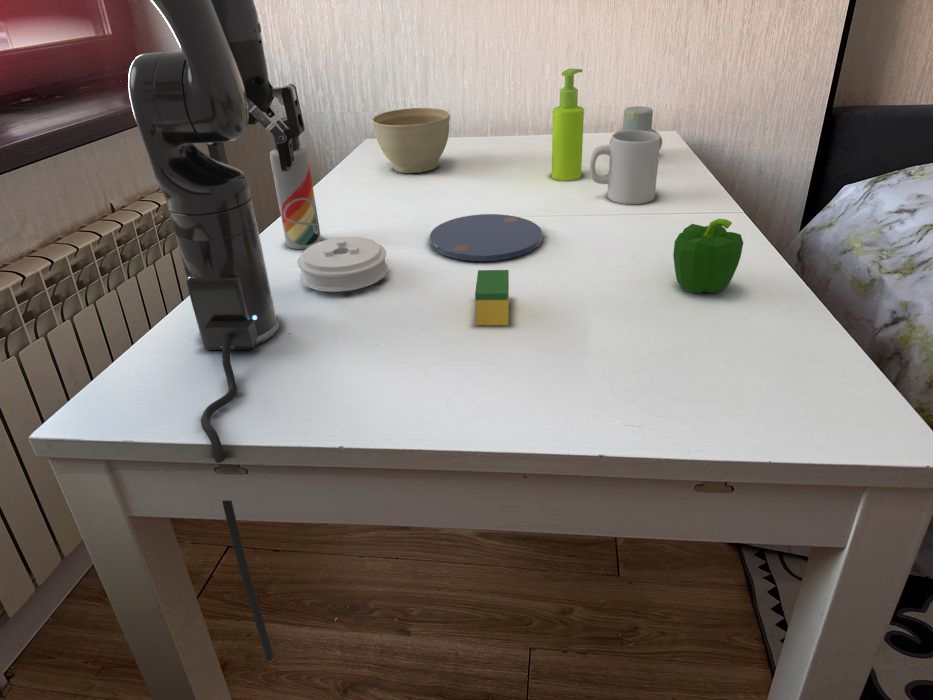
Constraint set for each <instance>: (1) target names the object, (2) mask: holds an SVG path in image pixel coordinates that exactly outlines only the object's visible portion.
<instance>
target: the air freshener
mask: <svg viewBox="0 0 933 700" xmlns="http://www.w3.org/2000/svg"><path fill="white" fill-rule="evenodd" d="M653 113H654V110H653V109H652V107H649V106H643V105H642V106H639V105H638V106H637V105H636V106H635V105H634V106H629V107H625V109H623V119H622V128H620V129H618V130H617V131H615V133H617V132H622V131H632V130H639V131H649V132H654V133H657V134H658V135H660V133H659V132H658V131H657V130H655V129H653V128H652V126H653V117H654V116H653V115H654V114H653ZM610 144H611V139H610V140H609V145H610ZM662 146H663V138H662V136H661V135H660V148H659V151H660V150H661V149H662Z"/></svg>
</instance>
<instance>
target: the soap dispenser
mask: <svg viewBox="0 0 933 700" xmlns="http://www.w3.org/2000/svg"><path fill="white" fill-rule="evenodd" d="M583 71H584V70H583V69H582V68H567V69H565V70H563V71H562V72H561V76H562V77H564V86H563V87H562V88H561V89H560V90H559V106H555V107H553V108H552V135H551V136H552V137H551V138H552V139H551V140H552V141H551V178H552V179H554V180H557V181H567V182H568V181H569V182H570V181H575V180H578V179H580V178H581V177H582V166H583V165H582V163H583V143H584V142H583V141H584V119H585V118H584V116H585V108H584V107H583V106H579V105H578V103H579V102H578V99H579V89H578V88H576V86H575V85H574V84H575V75H576V74H579V73H583Z"/></svg>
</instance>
